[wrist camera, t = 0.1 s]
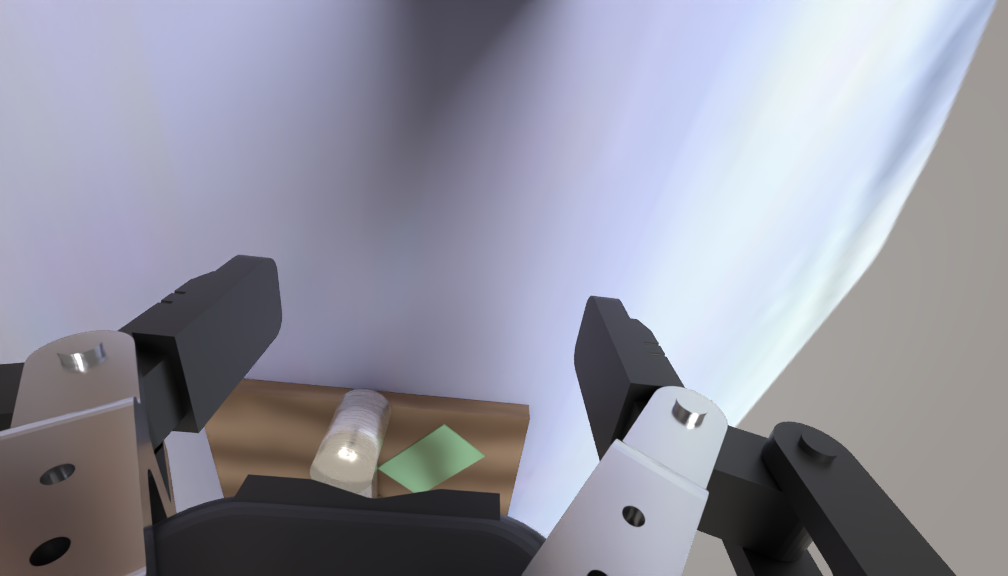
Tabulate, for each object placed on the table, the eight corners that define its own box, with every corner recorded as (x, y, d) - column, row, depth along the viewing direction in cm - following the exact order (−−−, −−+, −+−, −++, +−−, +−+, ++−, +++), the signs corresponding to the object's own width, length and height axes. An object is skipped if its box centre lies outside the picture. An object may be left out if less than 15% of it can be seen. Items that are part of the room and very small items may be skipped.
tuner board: (205, 375, 34) (192, 389, 33) (528, 405, 36) (529, 419, 35) (237, 501, 42) (228, 517, 40) (502, 520, 44) (502, 536, 43)
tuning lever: (337, 386, 32) (307, 452, 27) (391, 391, 33) (371, 457, 27) (345, 515, 40) (323, 585, 35) (389, 518, 40) (373, 588, 35)
